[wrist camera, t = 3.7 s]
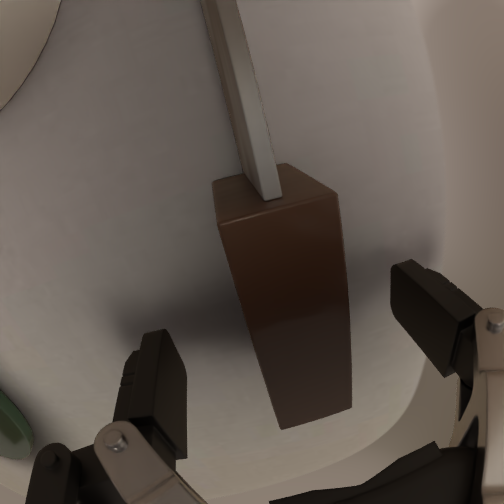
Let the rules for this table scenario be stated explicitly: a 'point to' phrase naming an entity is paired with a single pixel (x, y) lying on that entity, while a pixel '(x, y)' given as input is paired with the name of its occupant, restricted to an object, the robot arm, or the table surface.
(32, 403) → the table surface
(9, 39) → the cup
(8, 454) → the cake stand
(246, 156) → the knife
